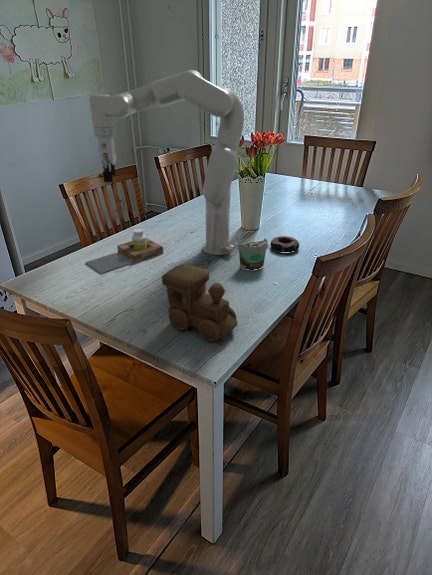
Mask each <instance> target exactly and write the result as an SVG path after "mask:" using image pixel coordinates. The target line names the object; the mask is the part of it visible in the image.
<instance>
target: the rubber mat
mask: <svg viewBox="0 0 432 575" xmlns="http://www.w3.org/2000/svg"><path fill="white" fill-rule="evenodd" d="M85 264H86V265H87V266H89V267H90V268H91V269H93V270H94V271H95V272H97V273H98V274H100V275H103V274H107V273H109V272H112V271H115V270H117V269H120V268H124V267H127V266H128V265H129V266H130V262H128V261H126V260H125V259H123V258H121V257H120V256H118V255H117V254H115V253H110V254H107V255H104V256H101V257H98V258H94V259H91V260H88V261H85Z"/></svg>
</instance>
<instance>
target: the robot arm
mask: <svg viewBox="0 0 432 575" xmlns="http://www.w3.org/2000/svg"><path fill="white" fill-rule="evenodd" d="M88 100H89V106H90V107H89V108H90V114H91V122H92V129H93V136H94V137H95V138H97V144H98V145H97V146H98V154H99V160H100V165H102V176H103V182H104V183H112V182H114V179H113V178H114V176H116V168H115V166H116V165H115V164H116V162H117V155H116V153H117V152H116V147H115V140H114V137H115V136H116V130H115V121H114V118H115V119H124V118H127V117H129V116H130V115H131V116H132V114H135V113H139V112H142V111H146V110H149V109H154V108H164V107H167V106H170V105H173V104H177V103H180V102H183V101H186V102H188V103H190V104H191V105H193V106H195V107H197V108H199V109H201V110H202V111H204V112H206V113H208V114H209V115H211V116H214V117H216V118H219V124H218V125H219V126H218V128H217V129H218V130H217V136H216V140H215V143H214V147H213V149H212V151H211V153H210V155H209V159H208V163H207V166H206V167H207V168H206V173H205V177H204V183H203V185H202V186H203V187H202V194H203V197H204V199H205V243H204V244H202V246H201V247H202V248H201V250H202V252H204V253H205V254H208V255H212V256H225V255H228V254H232V253H233V252H234V250H235V246H234V245H233V244H232V241H231V240H230V222H231V221H230V219H231V218H230V216H231V215H230V214H231V195H232V194H231V193H232V184H233V183H232V182H233V180H234V179H233V178H234V174H235V171H236V167H237V163H238V152H239V147H240V143H241V138H242V134H243V128H244V124H245V123H244V122H245V113H244V108H243V105H242V102H241V100H240V99H239V97H238V95H237V94H236V93H235V92H234V91H232V90H231V89H230V88H228V87H226V86H217V85H215V84H213V83H211V82H210V81H208V80H206V79H205V78H203V76H202V74H201V73H200V72H198V71H197V70H195V69H189V70H185V71H182V72H179V73H176V74H173V75H169V76H166V77H163V78H162V77H161V78H160V79H157V80H154V81H152V82H150V83H149V84H146V85H143V86H140V87H138V88H134V89H131V90H128V91H124V92H122V93H117V94H115V95H114V94H112V95H109V94H106V93H94V94H91V95H90V96H89V99H88Z"/></svg>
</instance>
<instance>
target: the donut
mask: <svg viewBox="0 0 432 575" xmlns="http://www.w3.org/2000/svg"><path fill="white" fill-rule="evenodd" d="M270 247H271V249H272V250H273V249H274V250H276V251H279V252H292V251H295V252H297V251H299V248H300V242H299V240H298V239H296V238H295V237H293V236H287V235H282V236H281V235H280V236H276V237H273V239H272V240H271V241H270ZM274 250H273V251H274ZM296 250H297V251H296ZM276 251H275V252H276ZM279 252H278V253H279Z"/></svg>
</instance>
